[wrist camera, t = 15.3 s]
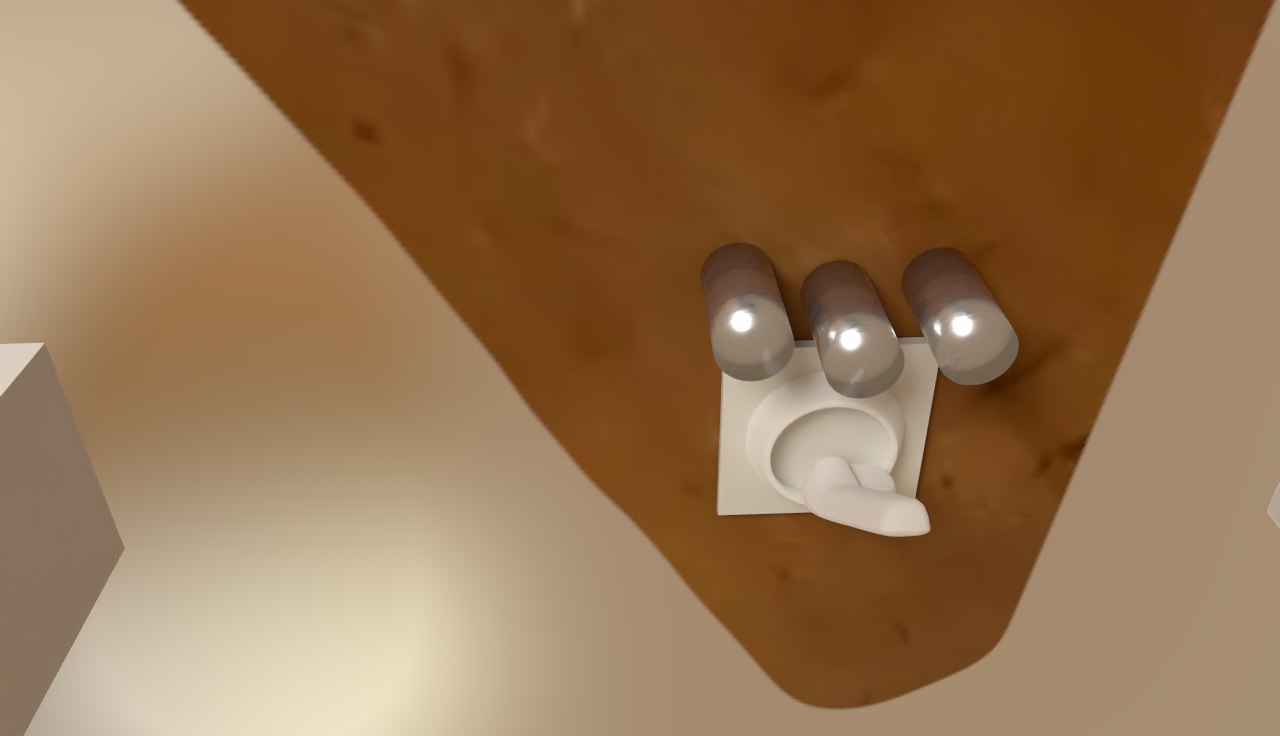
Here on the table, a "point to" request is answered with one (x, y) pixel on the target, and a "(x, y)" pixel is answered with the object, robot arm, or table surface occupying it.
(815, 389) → the hook
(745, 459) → the felt pad
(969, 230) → the table surface
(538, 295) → the table surface
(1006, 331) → the cylinder
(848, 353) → the spacer
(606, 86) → the table surface
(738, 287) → the cylinder
